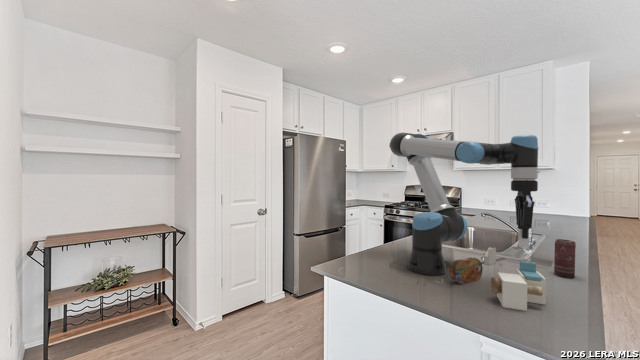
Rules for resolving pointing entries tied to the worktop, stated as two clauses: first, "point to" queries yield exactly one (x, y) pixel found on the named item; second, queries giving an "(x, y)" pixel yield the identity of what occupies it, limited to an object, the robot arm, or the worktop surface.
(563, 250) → the can
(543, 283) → the block
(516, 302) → the cream block
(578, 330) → the worktop surface
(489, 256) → the architectural model
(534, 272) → the teal toy chair
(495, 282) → the pin
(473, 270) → the tin
